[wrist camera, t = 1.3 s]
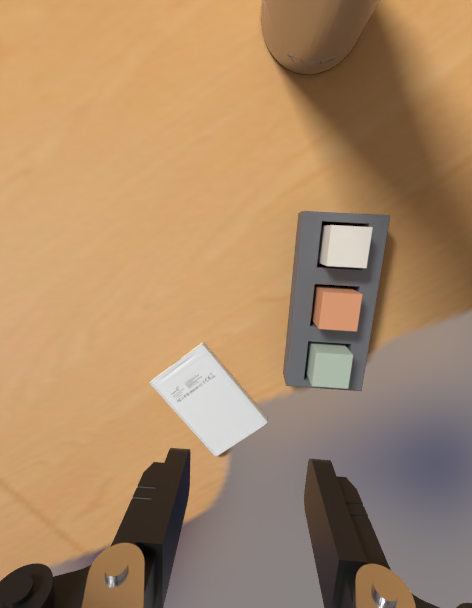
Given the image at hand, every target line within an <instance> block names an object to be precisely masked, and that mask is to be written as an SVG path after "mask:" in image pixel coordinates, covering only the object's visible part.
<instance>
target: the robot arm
mask: <svg viewBox="0 0 472 608" xmlns="http://www.w3.org/2000/svg"><path fill="white" fill-rule="evenodd" d="M379 1H380V0H262V6H261V26H262V33H263V36H264V40H265V43H266V45H267V47H268V49H269V51H270V52H271V54H272V55H273V56H274V58H275V59H276V60H277V61H278V62H279V63H280V64H281V65H283V66H284V67H285V68H287V69H289V70H291V71H294V72H296V73H302V74H317V73H320V72H323V71H326V70H329V69H330V68H332V67H334V66H336V65H337V64H338V63H339V62H341V61H342V60H343V59H344V58H345V57H346V56H347V55H348V53H349V52H350V51H351V49H352V48H353V47H354V45H355V43H356V42H357V40H358V38H359V36H360V34H361V33H362V31H363V29H364V27H365V25H366V24H367V22H368V20H369V18H370V17H371V15H372V13H373V12H374V10H375V8H376V6H377V5H378V3H379ZM189 487H190V449H178V448H170V450H169V452H168V455H167V458H166V460H165V463H159V462H154V463H153V464H152V465H151V466H150V467H149V468H148V469H147V470H146V471H145V472H144V473H143V475H142V477H141V479H140V482H139V484H138V488H137V489H136V491H135V493H134V495H133V499H132V500H131V502H130V504H129V507H128V509H127V511H126V513H125V516H124V518H123V520H122V523H121V525H120V527H119V529H118V532H117V534H116V536H115V538H114V541H113V543H112V545H111V546H110V547H109V548H107V549H106V550H104V551H103V552H102V553H101V554H100V555H99V556H98V557H97V558H96V559H95V561H94V562H93V564H92V565H90V566H88V567H86V568H84V569H81V570H78V571H74V572H70V573H66V574H63V575H59V576H55V577H53V575H52V572H51V570H50V569H49V567H47V566H46V565H43V564H29V565H26V566H23V567H20V568H18V569H16V570H15V571H13V572H11V573H10V574H9V575H7V576H6V577H5V578H3V579H2V580H1V581H0V608H163V606H164V602H165V597H166V593H167V589H168V585H169V580H170V576H171V571H172V567H173V563H174V558H175V554H176V550H177V545H178V541H179V536H180V532H181V528H182V524H183V519H184V515H185V511H186V506H187V502H188V496H189ZM304 494H305V495H304V505H305V513H306V518H307V523H308V528H309V533H310V538H311V543H312V548H313V553H314V558H315V563H316V568H317V573H318V578H319V583H320V588H321V593H322V598H323V603H324V608H439V607H437V606H434V605H432V604H430V603H427V602H425V601H423V600H421V599H419V598H418V597H416V596H414V595H413V594H412V593H411V592H410V590H409V588H408V587H407V586H406V584H405V583H404V582H403V581H402V579H401V578H400V577H399V576H397V575H396V574H395V573H394V572H392V571H391V570H390V567H389V565H388V563H387V561H386V558H385V556H384V553H383V551H382V549H381V546H380V544H379V542H378V539H377V537H376V535H375V532H374V529H373V528H372V525H371V522H370V520H369V519H368V515H367V513H366V511H365V508H364V507H363V503H362V501H361V499H360V496H359V494H358V491H357V489H356V488H355V487H354V486H353V485H352V484H351V482H350V481H349V480H348V479H347V478H346V477H336V474H335V471H334V469H333V465H332V463H331V461H330V460H320V459H309V462H308V469H307V476H306V484H305V493H304ZM457 608H472V603H463V604H461V605H459V606H458V607H457Z"/></svg>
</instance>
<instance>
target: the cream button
mask: <svg viewBox="0 0 472 608" xmlns="http://www.w3.org/2000/svg"><path fill="white" fill-rule="evenodd" d="M372 229H373V227H360V226H341V225H326V226H322V232H321V241H320V250H319V258H318V263H321V264H323V265H325V266H335V267H353V268H367V262H368V255H369V248H370V242H371V235H372Z"/></svg>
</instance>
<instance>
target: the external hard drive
mask: <svg viewBox="0 0 472 608" xmlns="http://www.w3.org/2000/svg"><path fill="white" fill-rule="evenodd" d="M150 384H151V385H152V386H153V387H154V389H155V390H156V391H157V392H158V393H159V394H160V395H161V396H162V397H163V399H164V400H165V401H166V402H167V403H168V404H169V405H170V407H171V408H172V409H173V410H174V411H175V412H176V413H177V414H178V416H179V417H180V418H181V419H182V420H183V421H184V422H185V423H186V424H187V426H188V427H189V428H190V429H191V430H192V431H193V432H194V433H195V435H196V436H197V437H198V438H199V439H200V440H201V441H202V442H203V444H204V445H205V446H206V447H207V448H208V449H209V450H210V451H211V452H212V454H213V455H214V456H218V455H220V454H221V453H223V452H225V451H226V450H228V449H229V448H231V447H232V446H234V445H235V444H237V443H238V442H240V441H241V440H243V439H244V438H246V437H248V436H249V435H251V434H252V433H254V432H255V431H257V430H259V429H260V428H262V427H263V426H264V425H266V424H267V423H268V418H267V416H266V415H265V413H264V412H263V411H262V410H261V409H260V407H259V406H258V405H257V404H256V403H255V402H254V401H253V400H252V399H251V397H250V396H249V395H248V394H247V393H246V391H245V390H244V389H243V388H242V387H241V386H240V384H239V383H238V382H237V381H236V380H235V378H234V377H233V376H232V375H231V374H230V373H229V371H228V370H227V369H226V368H225V367H224V365H223V364H222V363H221V362H220V361H219V360H218V358H217V357H216V356H215V355H214V354H213V352H212V351H211V350H210V349H209V348H208V346H207V345H206V344H205V343H204V342H202V343H201V344H199V345H198V346H197V347H195V348H194V349H193V350H191V351H190V352H189V353H187V354H186V355H185V356H183V357H182V358H181V359H180V360H179V361H177V362H176V363H175V364H173V365H171V366H170V367H168V368H167V369H166V370H164V371H163V372H162V373H160V374H159V375H158V376H156V377H155V378H154V379H152V380H151V382H150Z"/></svg>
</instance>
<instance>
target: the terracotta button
mask: <svg viewBox="0 0 472 608" xmlns="http://www.w3.org/2000/svg"><path fill="white" fill-rule="evenodd" d="M361 301H362V294H361V293H359V292H357V291H356V290H354V289H352V288H346V287H329V286H315V293H314V302H313V311H312V320H313V322H314V323H315V325H316V326H317V327H318V329H326V330H342V331H357V327H358V321H359V314H360V308H361Z"/></svg>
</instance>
